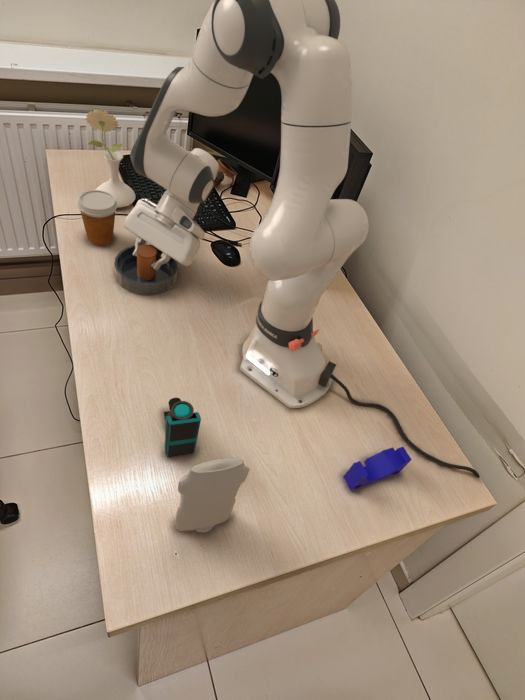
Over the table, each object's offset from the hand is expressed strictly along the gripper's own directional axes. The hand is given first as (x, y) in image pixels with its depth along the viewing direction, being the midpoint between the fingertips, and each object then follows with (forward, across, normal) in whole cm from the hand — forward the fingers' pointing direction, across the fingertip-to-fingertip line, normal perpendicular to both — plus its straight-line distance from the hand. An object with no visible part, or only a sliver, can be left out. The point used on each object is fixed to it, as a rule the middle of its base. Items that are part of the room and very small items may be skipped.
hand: (144, 262), depth 114 cm
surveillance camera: (+24, +36, -17) cm, 46 cm away
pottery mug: (-32, -16, +39) cm, 53 cm away
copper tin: (+2, 0, +3) cm, 4 cm away
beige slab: (+31, +50, -24) cm, 64 cm away
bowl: (+3, 0, +4) cm, 5 cm away
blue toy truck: (+10, +71, -4) cm, 71 cm away
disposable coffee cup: (+2, -18, +5) cm, 19 cm away
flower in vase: (-9, -30, +16) cm, 35 cm away
